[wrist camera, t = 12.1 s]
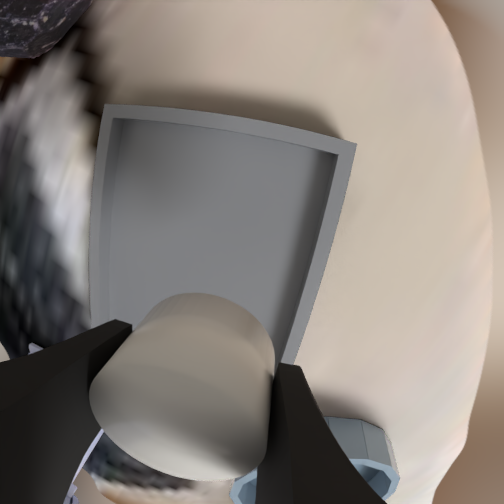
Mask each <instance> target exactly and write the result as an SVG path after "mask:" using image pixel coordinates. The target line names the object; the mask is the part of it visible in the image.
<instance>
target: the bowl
mask: <svg viewBox="0 0 504 504" xmlns="http://www.w3.org/2000/svg"><path fill="white" fill-rule="evenodd" d="M324 419H325V421H326V423H327V424H328V426H329V428H330V430H331V431H332V433H333V435H334V437H335V438H336V440H337V441H338V443H339V445H340V446H341V448H342V449H343V451H344V452H345V454H346V455H347V457H348V458H349V460H350V461H351V463H352V464H353V465H354V467H355V468H356V469H357V471H358V472H359V473H360V474H361V476H362V477H363V478H364V479H365V481H366V482H367V483H368V484H369V485H370V486H371V488H372V489H373V490H374V491H375V492H376V493H377V494H378V495H379V496H380V497H381V498H382V499H383V500H384V501H385V500H386V499H387V498H388V497H390V496H391V495H392V494H393V493H394V492H395V490H396V488H397V485H398V482H399V480H400V476H399V472H398V468H397V464H396V460H395V456H394V452H393V448H392V444H391V442H390V440H389V439H388V437H387V435H386V434H385V432H384V431H383V429H381V428H378V427H376V426H374V425H372V424H369V423H367V422H365V421H363V420H359V419H347V418H338V417H329V416H327V417H324ZM256 483H257V467H256V468H255V469H254V470H252V471H251V472H249V473H247V474H245V475H243V476H240V477H237V478H234V479H232V483H231V488H230V493H229V496H230V497H231V499H232V501H233V502H234V504H255V499H256Z"/></svg>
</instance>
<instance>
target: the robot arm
mask: <svg viewBox="0 0 504 504" xmlns="http://www.w3.org/2000/svg"><path fill="white" fill-rule="evenodd" d="M131 333H132V324H129V323H126V322H123V321H120V320H117V319H114V320H111V321H109V322H106V323H104V324H101V325H99V326H97V327H95V328H92V329H90V330H88V331H86V332H84V333H81V334H79V335H77V336H74V337H72V338H70V339H67V340H65V341H63V342H61V343H58V344H55V345H53V346H50V347H47V348H45V349H43V348H41V347H39V346H38V345H36V344H34V343H31V344H29V350H30V353H29V354H28V355H25V356H22V357H19V358H15V359H11V360H8V361H4V362H0V504H79V501H78V499H77V497H76V496H75V495H73V494H74V492H75V491H76V489H77V487H76V486H75V485H74V484H72V483H73V481H74V479H75V478H76V476H77V474H78V473H79V471H80V470H81V468H82V466H83V465H84V463H85V461H86V460H87V458H88V456H89V455H90V453H91V451H92V450H93V448H94V447H95V445H96V443H97V442H98V440H99V438H100V437H101V435H102V434H103V432H104V430H103V429H102V428H101V426H100V425H99V423H98V422H97V420H96V418H95V416H94V414H93V412H92V409H91V406H90V400H89V390H90V386H91V383H92V382H93V380H94V378H95V377H96V376H97V374H98V373H99V372H100V371H101V369H102V368H103V367H104V366H105V364H106V363H107V362H108V361H109V359H110V358H111V357H112V356H113V355H114V353H115V352H116V351H117V350H118V349H119V347H120V346H121V345H122V344H123V342H124V341H125V340H126V339H127V338H128V336H129V335H130V334H131ZM255 504H387V503H386V502H385V501H384V500H383V499H382V498H381V497H380V496H379V495H378V494H377V493H376V492H375V491H374V490H373V489H372V488H371V486H370V485H369V484H368V483H367V482H366V481H365V479H364V478H363V477H362V476H361V474H360V473H359V472H358V471H357V469H356V468H355V467H354V465H353V464H352V463H351V461H350V460H349V458H348V457H347V455H346V454H345V452H344V451H343V449H342V448H341V446H340V445H339V443H338V441H337V440H336V438H335V437H334V435H333V433H332V431H331V430H330V428H329V426H328V424H327V423H326V421H325V419H324V417H323V415H322V413H321V411H320V409H319V407H318V405H317V403H316V401H315V399H314V397H313V394H312V392H311V390H310V388H309V385H308V383H307V381H306V378H305V376H304V373H303V371H302V369H301V367H300V366H297V365H291V364H286V363H281V362H279V364H278V367H277V370H276V373H275V376H274V379H273V389H272V400H271V410H270V421H269V431H268V440H267V450H266V454H265V457H264V459H263V460H262V462H261V463H260V464H259V465H258V466H257V483H256V499H255Z"/></svg>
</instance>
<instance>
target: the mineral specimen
mask: <svg viewBox="0 0 504 504" xmlns="http://www.w3.org/2000/svg"><path fill="white" fill-rule="evenodd" d="M92 1H93V0H0V56H1V57H23V58H35V57H39V56H40V55H41V54H43V53H45V52H47V51H48V50H50V49H51V48H53V47H54V45H55V44H56V43H57V42H58V41H59V40H60V39H61V38H63V36H64V35H65V34H66V33H67V31H68V30H69V29H70V28H71V27H72V25H73V24H74V23H75V22H76V21H77V20H78V19H79V17H80V16H81V15H82V14H83V13H84V12H85V11H86V10H87V9H88V7H89V6H90V5H91V3H92Z"/></svg>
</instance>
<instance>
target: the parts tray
mask: <svg viewBox="0 0 504 504" xmlns="http://www.w3.org/2000/svg"><path fill="white" fill-rule="evenodd" d="M356 146H357V144H356V143H353V142H349V141H346V140H342V139H338V138H335V137H331V136H327V135H323V134H319V133H315V132H311V131H307V130H303V129H299V128H294V127H290V126H285V125H281V124H276V123H271V122H266V121H260V120H255V119H250V118H244V117H238V116H232V115H225V114H219V113H211V112H204V111H196V110H187V109H178V108H168V107H156V106H141V105H121V104H105V105H104V110H103V115H102V120H101V126H100V132H99V138H98V145H97V152H96V159H95V167H94V176H93V186H92V198H91V212H90V234H89V289H90V310H91V325H92V328H95V327H97V326H99V325H101V324H104V323H106V322H109V321H111V320H114V319H117V320H120V321H123V322H126V323H129V324H132V332H133V330H134V329H135V328H136V327H137V326H138V324H139V323H140V322H141V321H142V320H143V319H144V317H145V316H146V315H147V314H148V313H149V311H150V310H151V309H152V308H153V307H154V306H155V305H157V304H158V303H159V302H161V301H162V300H164V299H166V298H168V297H171V296H174V295H178V294H183V293H206V294H211V295H216V296H219V297H222V298H225V299H227V300H230V301H232V302H234V303H236V304H238V305H239V306H241V307H243V308H244V309H246V310H247V311H248V312H250V313H251V314H252V315H253V316H254V317H255V318H256V319H257V320H258V321H259V322H260V323H261V324H262V325H263V327H264V328H265V330H266V331H267V333H268V335H269V337H270V339H271V341H272V344H273V347H274V353H275V366H274V376H275V373H276V370H277V367H278V364H279V362H281V363H286V364H291V365H293V364H294V361H295V358H296V355H297V353H298V350H299V347H300V344H301V341H302V338H303V335H304V333H305V330H306V327H307V324H308V321H309V318H310V315H311V312H312V309H313V305H314V302H315V299H316V296H317V293H318V290H319V286H320V283H321V280H322V277H323V273H324V270H325V267H326V263H327V260H328V257H329V253H330V250H331V246H332V243H333V239H334V235H335V232H336V228H337V224H338V221H339V217H340V213H341V209H342V205H343V201H344V197H345V193H346V189H347V185H348V181H349V177H350V173H351V168H352V164H353V160H354V155H355V151H356ZM273 379H274V377H273Z"/></svg>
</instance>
